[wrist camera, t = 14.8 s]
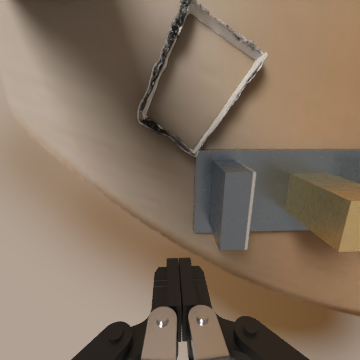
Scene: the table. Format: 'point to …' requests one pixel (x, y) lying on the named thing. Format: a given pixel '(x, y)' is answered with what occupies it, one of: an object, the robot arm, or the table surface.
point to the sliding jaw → (231, 204)
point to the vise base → (269, 181)
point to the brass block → (327, 208)
